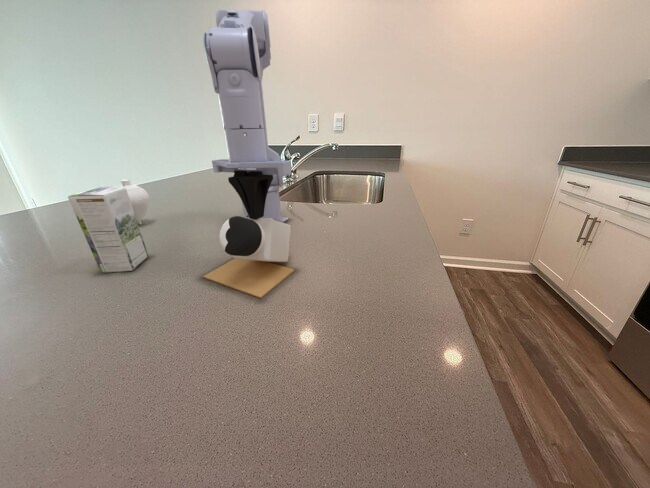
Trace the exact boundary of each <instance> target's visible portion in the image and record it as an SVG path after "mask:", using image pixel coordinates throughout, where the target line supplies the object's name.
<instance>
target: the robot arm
mask: <svg viewBox="0 0 650 488" xmlns="http://www.w3.org/2000/svg"><path fill="white" fill-rule="evenodd" d="M215 23H216V27H213V26H212V27H209V28H208V32H203V36H202V40H203V49H204V55H205V59H206V63H207V66H208V69H209V72H210V76H211V80H212V85H213V88H214V92H215V93H216V94H217V97H218V103H219V110H220V115H221V121H222V127H223V128H222V129H223V133H224V139H225V145H226V150H227V156H228V157H227V158H228V159H225V158H223V159H212V160H211V164H212V170H213V173H216V174H217V173H218V174H219V173H232V174H233V176H230V177H228V178H227V180H228V183H229V184H230V185H231V186H232V188H233V189H234V190H235V192H236V193H237V195H238V196H239V199H240V200H241V205H242V210H243V217H244V218H250V219H255V220H256V219H259V218H272V219H275V220H278V221H281V222H284V223H286V222H287V221H289V217H286V216H282V208H281V199H280V198H281V197H280V188H282V187H283V186H284V177H286V176H291V175H292V164H291V160H281V156H280V154H279V153H277V152H276V151H275V150H274V149H272V148H271V147H269V140H268V132H267V131H268V130H267V121H266V111H265V101H264V91H263V76H264V70H265V69H267V68H268V67H269V66H271V60H272V54H271V53H272V52H271V37H270V36H271V35H270V27H269V16H268V13H267V12H266V10H250V9H222V8H218V9H217V11H216V13H215Z"/></svg>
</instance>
